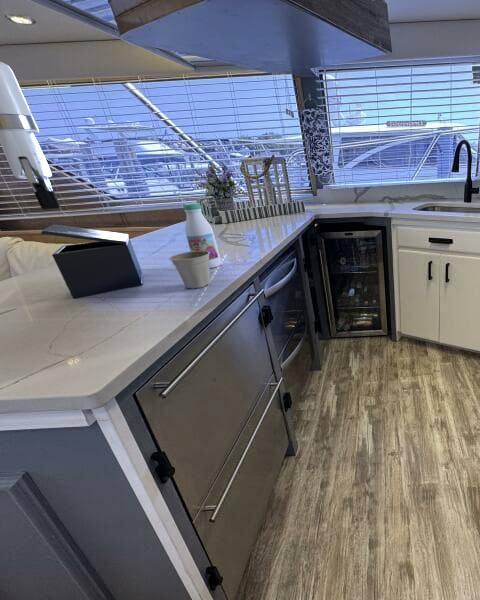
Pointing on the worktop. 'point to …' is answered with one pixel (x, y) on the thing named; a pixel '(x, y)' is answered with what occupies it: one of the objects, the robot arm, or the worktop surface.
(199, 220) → the milk bottle
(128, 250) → the bin
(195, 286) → the flower pot
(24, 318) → the worktop surface
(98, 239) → the bin lid
